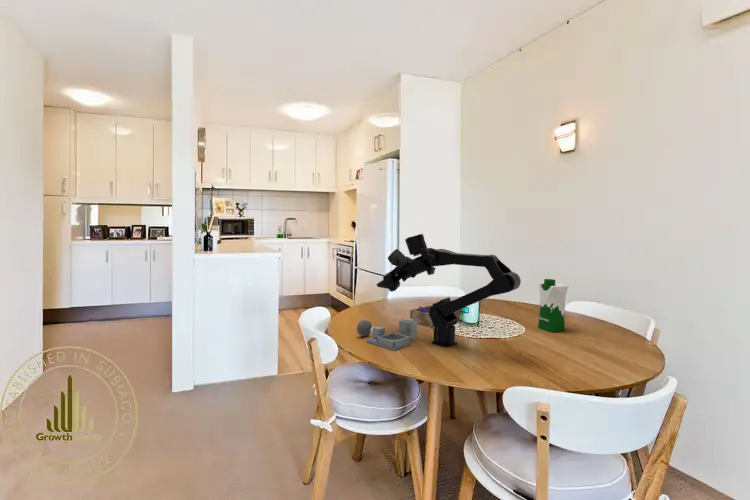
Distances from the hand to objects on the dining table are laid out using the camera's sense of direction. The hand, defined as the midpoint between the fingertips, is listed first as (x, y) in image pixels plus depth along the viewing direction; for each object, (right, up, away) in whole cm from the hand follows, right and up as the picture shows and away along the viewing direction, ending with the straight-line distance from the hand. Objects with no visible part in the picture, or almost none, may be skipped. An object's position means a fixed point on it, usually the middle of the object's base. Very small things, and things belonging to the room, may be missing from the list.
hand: (382, 280), depth 153 cm
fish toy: (+23, -18, +17) cm, 34 cm away
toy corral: (+23, -18, +17) cm, 34 cm away
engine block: (+9, -20, -8) cm, 23 cm away
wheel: (-7, -20, -8) cm, 22 cm away
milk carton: (+67, -20, +7) cm, 70 cm away
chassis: (+2, -20, -16) cm, 26 cm away
